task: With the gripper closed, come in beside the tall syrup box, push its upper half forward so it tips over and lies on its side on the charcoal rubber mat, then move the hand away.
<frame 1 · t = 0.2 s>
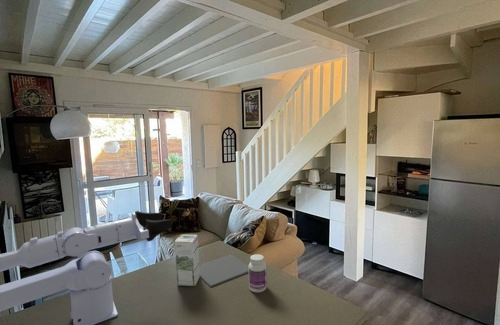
hand: (166, 219, 80), 21 cm above the table, tool horizontal, fingers open, 7 cm apart
syrup box: (188, 282, 85), on the table
rubber mat: (222, 269, 92), on the table
pill bottle: (257, 288, 81), on the table
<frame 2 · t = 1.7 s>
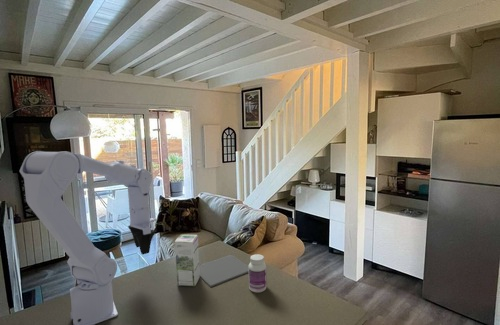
hand: (142, 249, 85), 10 cm above the table, tool pointing down, fingers open, 6 cm apart
nothing on the table moved.
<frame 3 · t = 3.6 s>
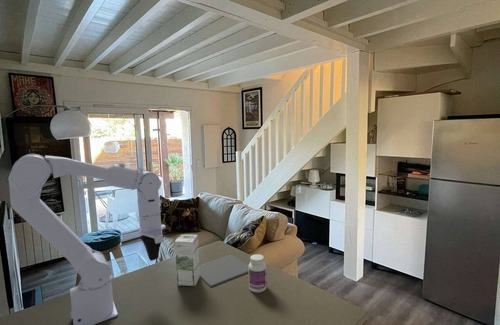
hand: (153, 259, 78), 10 cm above the table, tool pointing down, fingers closed
nothing on the table moved.
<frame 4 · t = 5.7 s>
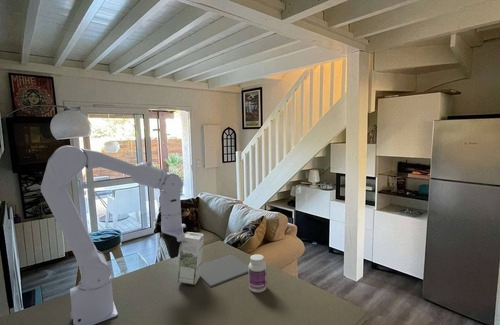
hand: (173, 256, 81), 9 cm above the table, tool pointing down, fingers closed
syrup box: (188, 280, 85), on the table, touching gripper
everything else where it was.
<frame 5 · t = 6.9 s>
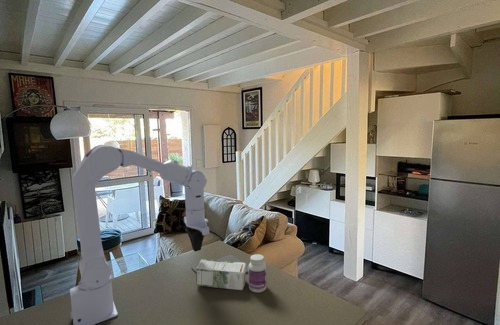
hand: (197, 250, 86), 9 cm above the table, tool pointing down, fingers closed
syrup box: (197, 272, 84), point 4 cm above the table, touching rubber mat
everything else where it was.
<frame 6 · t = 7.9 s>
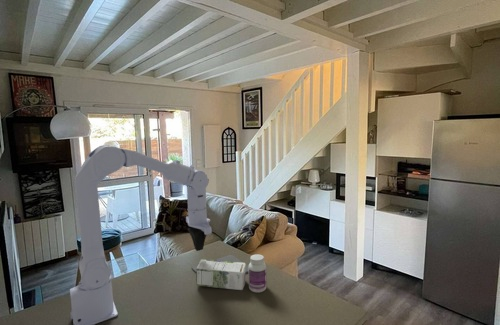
hand: (199, 249, 86), 9 cm above the table, tool pointing down, fingers closed
nothing on the table moved.
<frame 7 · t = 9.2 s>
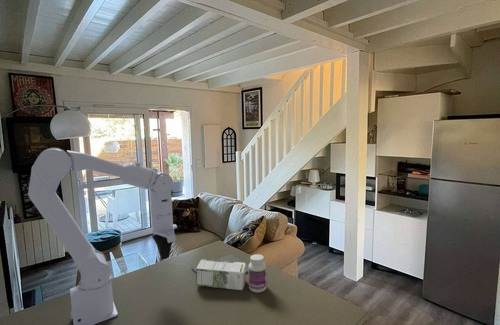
hand: (164, 258, 80), 10 cm above the table, tool pointing down, fingers closed
nothing on the table moved.
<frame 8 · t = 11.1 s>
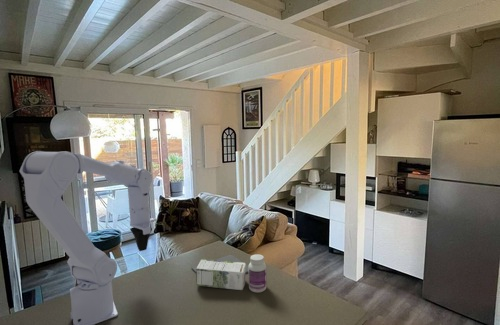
hand: (142, 249, 85), 10 cm above the table, tool pointing down, fingers closed
nothing on the table moved.
at the end: syrup box tilted 93°; syrup box touching rubber mat, table; syrup box inside the target area (3.4 cm from its centre), point 3.6 cm above the table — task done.
